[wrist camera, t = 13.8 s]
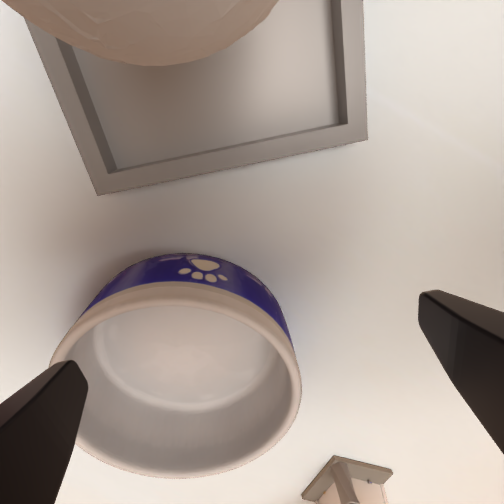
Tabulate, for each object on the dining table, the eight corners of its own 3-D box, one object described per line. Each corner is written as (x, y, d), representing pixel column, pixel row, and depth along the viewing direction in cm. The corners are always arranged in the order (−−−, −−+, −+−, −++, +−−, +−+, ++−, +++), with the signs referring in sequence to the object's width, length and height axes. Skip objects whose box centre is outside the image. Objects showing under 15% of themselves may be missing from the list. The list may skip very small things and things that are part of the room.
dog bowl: (290, 245, 22) (310, 291, 16) (285, 402, 28) (298, 473, 22) (64, 254, 21) (4, 305, 15) (112, 412, 27) (81, 488, 22)
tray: (354, 136, 19) (367, 139, 17) (110, 187, 19) (97, 195, 17) (334, -262, 12) (351, -326, 10) (-30, -171, 13) (-73, -217, 11)
